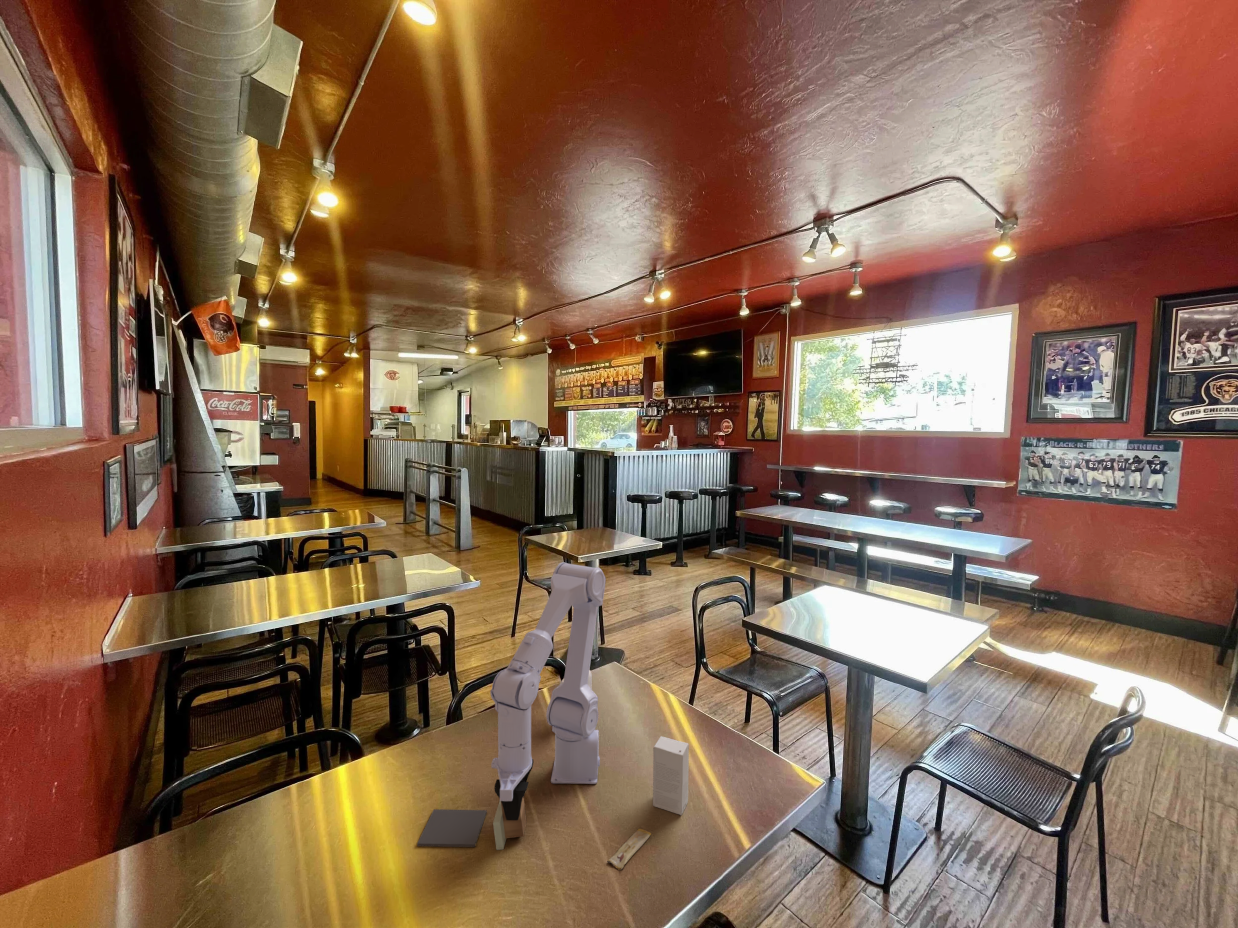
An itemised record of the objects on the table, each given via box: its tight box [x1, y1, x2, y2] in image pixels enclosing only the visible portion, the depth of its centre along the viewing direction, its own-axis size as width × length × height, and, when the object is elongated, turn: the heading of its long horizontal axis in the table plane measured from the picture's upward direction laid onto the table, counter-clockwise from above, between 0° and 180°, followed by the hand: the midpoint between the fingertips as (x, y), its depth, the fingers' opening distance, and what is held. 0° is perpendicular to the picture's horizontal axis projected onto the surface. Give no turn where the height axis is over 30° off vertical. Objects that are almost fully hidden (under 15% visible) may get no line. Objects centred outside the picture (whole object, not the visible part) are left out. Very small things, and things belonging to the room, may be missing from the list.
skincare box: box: [652, 735, 690, 816], centre depth 100 cm, size 6×4×12 cm
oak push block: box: [501, 795, 527, 839], centre depth 92 cm, size 3×3×7 cm
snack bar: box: [606, 827, 652, 871], centre depth 89 cm, size 10×2×3 cm
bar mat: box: [416, 809, 488, 848], centre depth 93 cm, size 10×8×1 cm
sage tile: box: [492, 800, 507, 851], centre depth 92 cm, size 1×7×5 cm, turn 1°
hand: (514, 810), depth 92 cm, fingers closed on oak push block, 3 cm apart
